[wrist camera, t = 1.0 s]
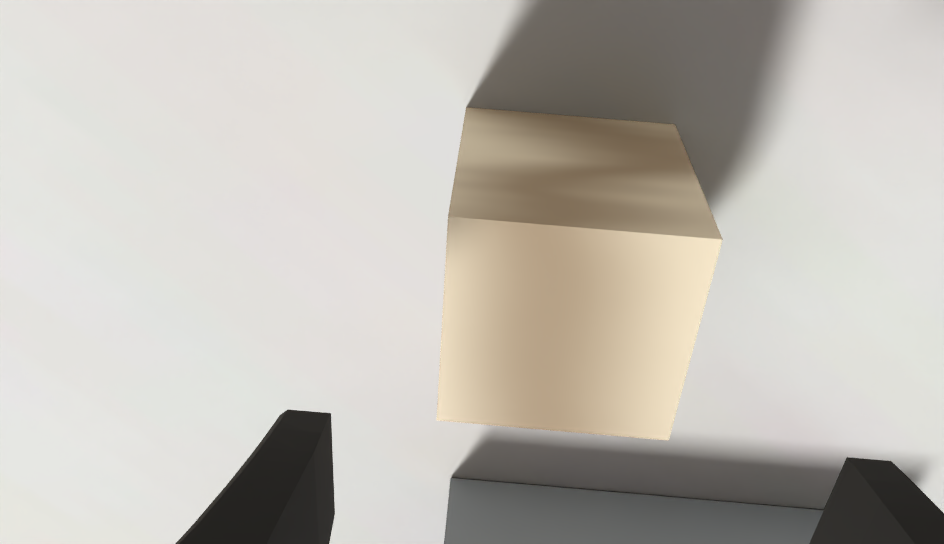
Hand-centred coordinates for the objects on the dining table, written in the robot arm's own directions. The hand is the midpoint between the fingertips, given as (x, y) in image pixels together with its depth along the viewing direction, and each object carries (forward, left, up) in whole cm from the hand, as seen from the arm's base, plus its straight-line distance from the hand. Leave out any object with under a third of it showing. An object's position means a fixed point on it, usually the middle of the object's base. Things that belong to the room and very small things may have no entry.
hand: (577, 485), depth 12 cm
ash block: (0, 0, -8) cm, 8 cm away
